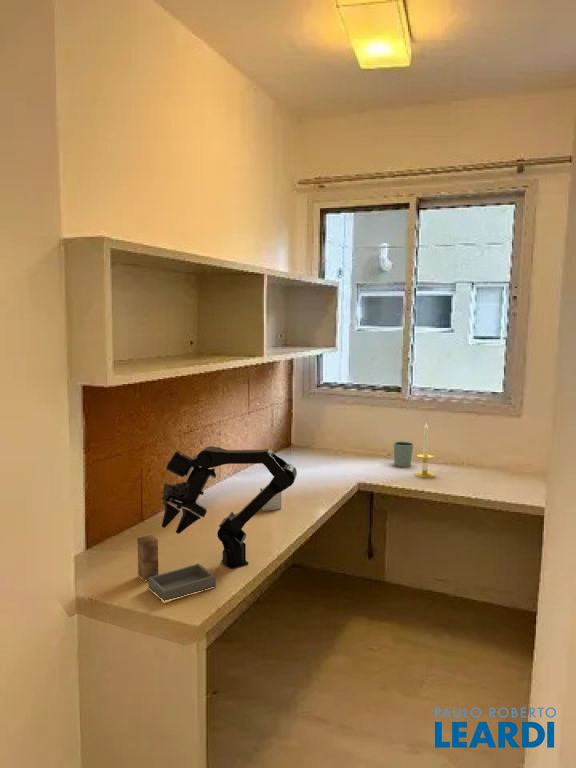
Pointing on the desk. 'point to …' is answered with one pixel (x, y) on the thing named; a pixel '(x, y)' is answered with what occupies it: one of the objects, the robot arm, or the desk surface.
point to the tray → (181, 582)
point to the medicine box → (273, 502)
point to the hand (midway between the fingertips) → (169, 530)
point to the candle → (425, 456)
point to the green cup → (403, 454)
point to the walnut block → (147, 556)
